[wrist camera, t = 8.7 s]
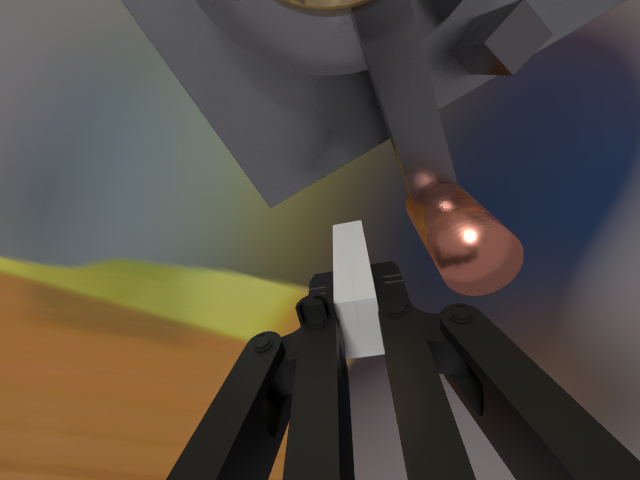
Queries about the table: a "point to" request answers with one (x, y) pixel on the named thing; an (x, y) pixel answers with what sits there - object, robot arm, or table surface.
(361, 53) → the housing
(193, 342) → the table surface
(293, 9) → the tan handled round piece
